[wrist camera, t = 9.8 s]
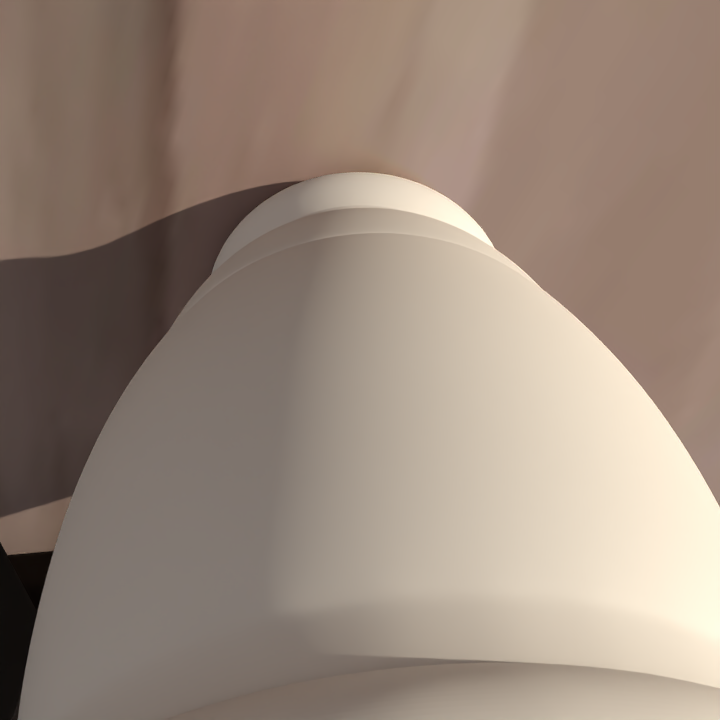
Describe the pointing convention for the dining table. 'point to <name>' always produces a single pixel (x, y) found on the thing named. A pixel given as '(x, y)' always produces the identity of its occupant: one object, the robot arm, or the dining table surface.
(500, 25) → the dining table surface
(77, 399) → the dining table surface
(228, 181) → the dining table surface
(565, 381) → the jar
